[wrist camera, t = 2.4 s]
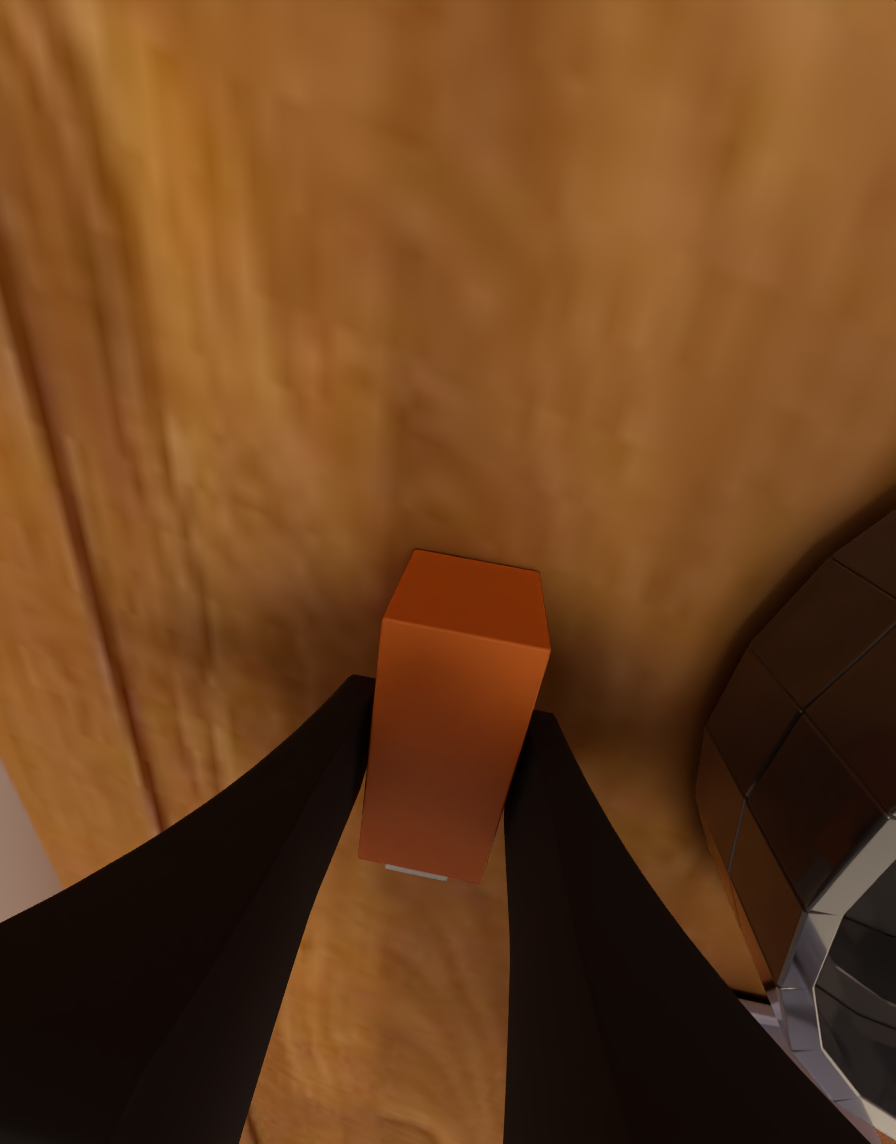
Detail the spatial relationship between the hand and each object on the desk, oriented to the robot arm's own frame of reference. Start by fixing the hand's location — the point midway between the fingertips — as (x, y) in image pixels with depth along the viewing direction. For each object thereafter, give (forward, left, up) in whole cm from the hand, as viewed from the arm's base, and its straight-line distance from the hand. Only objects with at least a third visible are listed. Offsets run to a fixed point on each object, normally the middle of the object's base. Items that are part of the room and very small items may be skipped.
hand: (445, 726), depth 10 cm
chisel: (-2, 0, -1) cm, 2 cm away
